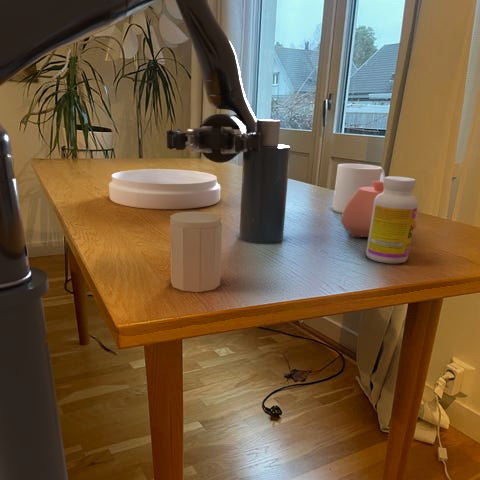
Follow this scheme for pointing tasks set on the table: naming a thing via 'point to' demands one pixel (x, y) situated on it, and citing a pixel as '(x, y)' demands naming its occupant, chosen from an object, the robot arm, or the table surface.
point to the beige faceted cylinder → (195, 251)
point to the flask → (264, 187)
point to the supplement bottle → (392, 221)
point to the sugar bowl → (362, 210)
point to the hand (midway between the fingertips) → (207, 143)
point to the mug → (354, 182)
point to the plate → (164, 189)
